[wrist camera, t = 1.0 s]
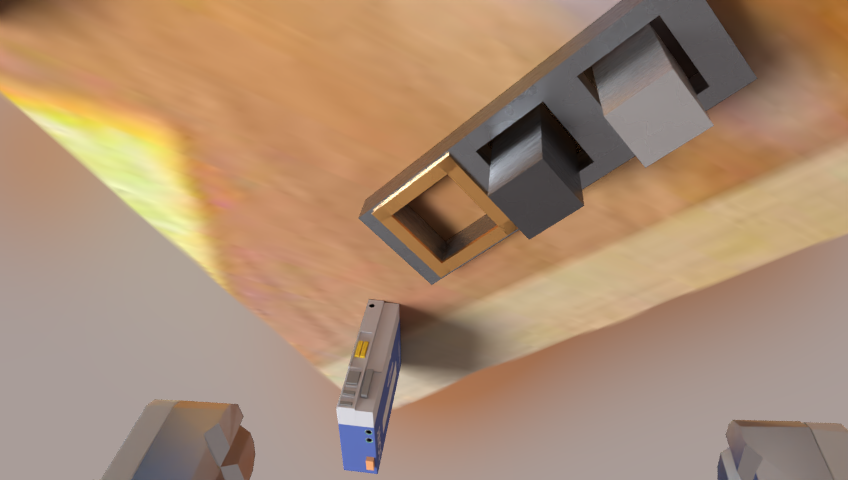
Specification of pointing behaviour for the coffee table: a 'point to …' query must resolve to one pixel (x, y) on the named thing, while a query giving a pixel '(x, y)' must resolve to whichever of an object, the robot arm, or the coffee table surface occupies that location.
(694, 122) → the light grey rectangular block
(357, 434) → the walkman
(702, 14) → the grey block holder tray
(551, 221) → the dark gray block
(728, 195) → the coffee table surface
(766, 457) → the robot arm
